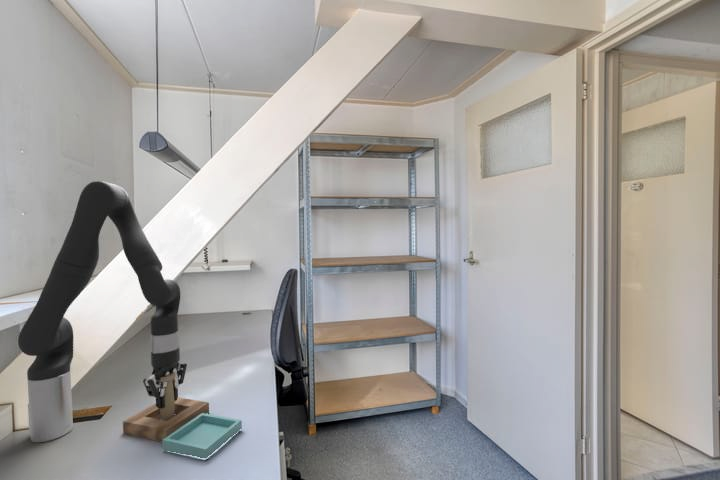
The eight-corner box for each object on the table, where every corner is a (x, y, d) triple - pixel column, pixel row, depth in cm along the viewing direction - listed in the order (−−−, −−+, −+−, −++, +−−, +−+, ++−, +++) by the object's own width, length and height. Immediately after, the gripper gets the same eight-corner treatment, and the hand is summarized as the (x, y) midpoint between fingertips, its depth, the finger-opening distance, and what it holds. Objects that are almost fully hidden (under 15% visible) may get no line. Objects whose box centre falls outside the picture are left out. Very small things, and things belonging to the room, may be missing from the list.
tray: (162, 450, 92) (162, 439, 92) (202, 422, 106) (202, 412, 106) (206, 461, 88) (205, 449, 88) (241, 430, 101) (241, 420, 101)
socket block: (123, 433, 101) (122, 421, 101) (169, 406, 116) (169, 395, 116) (166, 443, 96) (166, 430, 96) (209, 413, 111) (208, 402, 111)
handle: (178, 415, 110) (176, 368, 109) (175, 426, 104) (173, 376, 103) (160, 419, 108) (159, 370, 108) (156, 430, 102) (155, 378, 102)
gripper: (174, 339, 113) (176, 392, 114) (133, 354, 100) (136, 414, 100) (193, 341, 111) (195, 395, 111) (154, 357, 97) (156, 418, 98)
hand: (167, 403), depth 106 cm, fingers closed on handle, 4 cm apart
